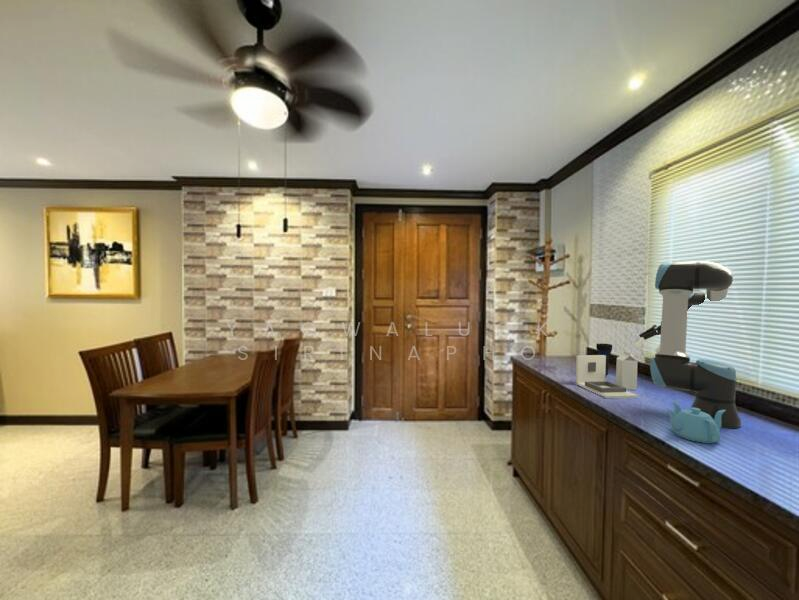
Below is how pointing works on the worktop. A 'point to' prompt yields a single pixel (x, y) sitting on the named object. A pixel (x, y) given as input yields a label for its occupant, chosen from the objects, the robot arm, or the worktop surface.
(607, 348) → the flashlight
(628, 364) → the milk carton
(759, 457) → the worktop surface
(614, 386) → the dock
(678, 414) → the teapot
